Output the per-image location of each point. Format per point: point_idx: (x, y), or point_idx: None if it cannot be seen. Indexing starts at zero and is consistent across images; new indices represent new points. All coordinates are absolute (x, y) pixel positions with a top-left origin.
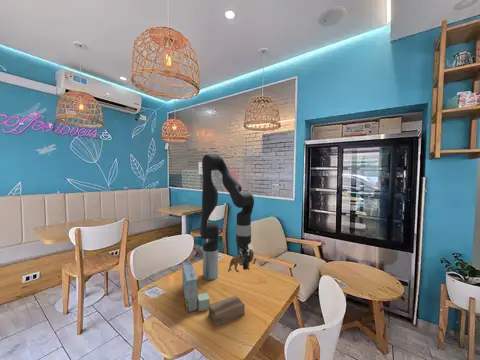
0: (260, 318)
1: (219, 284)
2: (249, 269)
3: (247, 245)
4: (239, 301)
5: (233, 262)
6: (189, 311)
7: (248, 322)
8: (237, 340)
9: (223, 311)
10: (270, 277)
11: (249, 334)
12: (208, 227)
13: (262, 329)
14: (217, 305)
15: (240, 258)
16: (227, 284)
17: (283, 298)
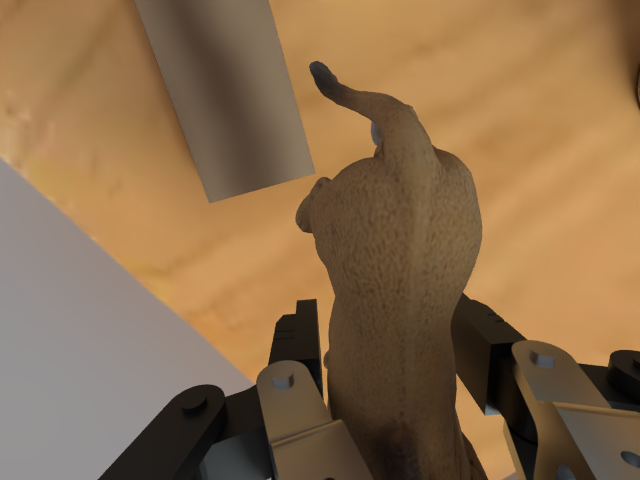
0: (182, 261)
1: (557, 119)
2: (325, 365)
3: None
4: (244, 180)
5: (346, 167)
6: None
7: (164, 197)
8: (49, 108)
9: (158, 45)
10: (496, 422)
11: (83, 177)
12: None
13: (109, 245)
14: (231, 14)
15: (355, 359)
16: (533, 173)
17: None
